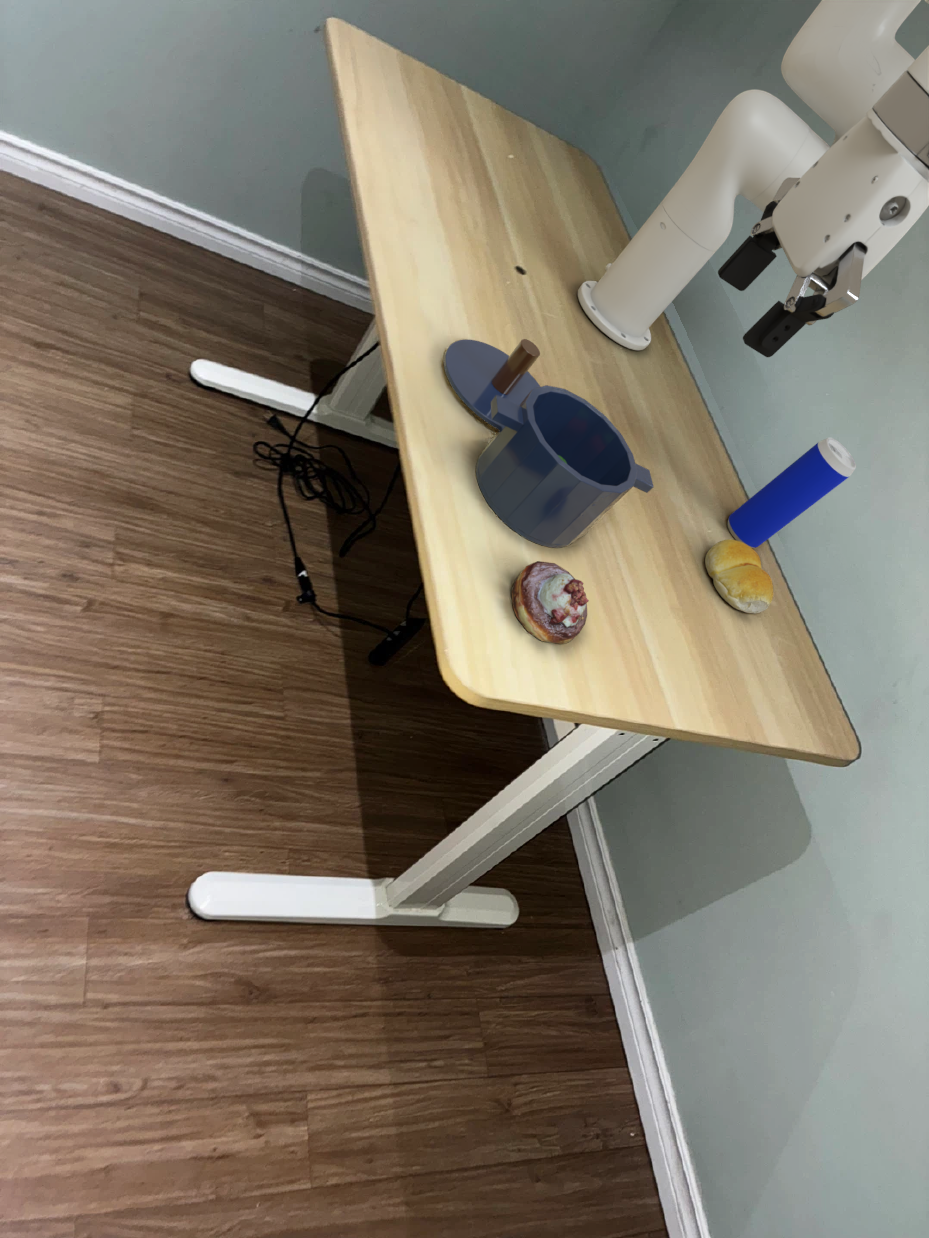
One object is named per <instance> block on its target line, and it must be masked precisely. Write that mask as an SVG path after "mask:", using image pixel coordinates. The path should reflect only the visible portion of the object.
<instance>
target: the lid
mask: <svg viewBox="0 0 929 1238" xmlns="http://www.w3.org/2000/svg"><path fill="white" fill-rule="evenodd" d="M540 356H541V351H540V348H539V347H538V346H537V345H536V344H535V343H534V342H533V341H531V340H530V339H526V338H523V339H521V340H520V341H519V343H518V344H517V345H516V346H515V348H514V349H513V350H512V352H511V353H510V355H509V354H508V353H506V352H504V351H502V350H501V349H499V348H498V347H495V346H493V345H491V344H488V343H486V342H483V341H481V340H476V339H467V338H466V339H458V340H456V341H454V342H452V343H451V344H450V345H449V346H448V347H447V349H446V350H445V352H444V355H443V369H444V373H445V375H446V378H447V380H448V382H449V384H450V386H451V388H452V390H453V391H454V392H455V394H456V395H457V396H458V397H459V399H460V400H461V401H462V402H463V404H464V405H466V407H467V408H469V409H470V411H472V413H474V414H475V415H476V416H477V417H478V418H480V419H481V420H482V421H483V422H485V423H487V424H488V425H489V426H491V427H493V428H494V429H497V430H498V431H499V430H500V428H501V427H502V426H503V425H502V424H500V423H498V422H496V421H494V420H492V414H491V401H492V400H493V398H494V397H495V396H496V395H498V396H500V397H502V398H504V399H506V400H508V401H510V402H513V403H515V404H517V405H520V404H521V402H522V401H523V400H524V399H525V398H526V396H527V395H528V394H529V393H530V391H531V390H532V389H535V388H538V387H541V385H540V383H539V382H538V381H537V380H536V378H535V377H534V376H533V375H532V374H531V373H530V372H529V370H530V369H531V367H532V366H533V364H534V363H535V362H536V361H537V360H538V358H540Z"/></svg>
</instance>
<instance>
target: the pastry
mask: <svg viewBox="0 0 929 1238" xmlns="http://www.w3.org/2000/svg"><path fill="white" fill-rule="evenodd" d="M512 585H513V586H512V589H511V600H512V608H513V612H514V614H515V616H516V618H517V620H518V621H519V622H520V624H521V625H522V626H523V627H524V629H525V631H526V632H527V633H528V634H530V635H532V636H533V637H535V638H537V639H538V640H539V641H540V642H545V643H553V644H560V645H564V644H568V643H570V642H571V641H572V640H573V639H574V638H576V637H577V636H578V635H579V634H580V633H581V631H582V630H583V629H584V627H585V625H586V622H587V618H588V603H589V601H590V600H589V599H588V598H587V594H586V592H585V588H584V582H583V581H582V580H580V579H576V578H575V577H574V576H573V575H572V574H571V573H570V572H569V571H568V570H566V569H565V568H563V567H561V566H560V565H559V564H556V563H555V562H548V561H540V560H538V561H535V562H533V563H530V564H528V565H526V566H525V567H524V569H523V570H522V571H521V572H520V573H519V574H518V575H517V576H516V578H515V580H514V582H513V584H512Z"/></svg>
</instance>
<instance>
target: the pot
mask: <svg viewBox="0 0 929 1238" xmlns="http://www.w3.org/2000/svg"><path fill="white" fill-rule="evenodd" d="M491 414H492V420H494V421H496V422H498V423H500V424H502V425H503V426H502V427H501V428H500V430H498V431H497V432H496V433H495V434H494V436H493V437H492V438H491V439H490V441H489V442H488V443H487V444H486V446H485V447H484V448H483V450H482V452H481V453H480V454H479V456H478V458H477V460H476V465H475V476H476V480H477V484H478V488H479V489H480V492H481V494H482V496H483V497H484V500H485V501H486V503H487V504H488V506H489V507H490V509H491V510H492V511H493V512H494V514H496V516H497V517H498V518H499V519H500V520H501V521H502V522H503V523H504V524H505V525H506V526H507V527H509V528H510V529H511V530H512V531H514V532H515V533H516V534H518V535H519V536H521V537H523V538H524V539H526V540H528V541H530V542H532V543H535V544H537V545H540V546H542V547H547V548H553V549H558V548H559V549H560V548H565V547H569V546H570V545H572V544H574V543H575V542H576V541H577V540H578V539H580V538H582V536H584V535H585V534H586V533H587V531H589V530H590V529H591V528H592V527H593V526H594V525H595V524H596V523H597V522H598V521H599V520H600V519H601V518H603V516H605V514H606V513H607V512H608V511H609V510H611V509H612V508H613V507H614V506H615V505H616V504H617V503H618V502H619V501H620V500H621V499H622V498H623V497H624V496H625V495H626V494H627V493H628V492H630V491H631V489H632V488H635V489H637V490H640V491H642V492H644V493H646V494H648V493H649V492H650V491H651V490H652V489H653V488H654V482H653V478H652V474H651V471H650V469H648V468H646V467H644V466H643V465H641V464H638V463H636V459H635V457H634V454H633V451H632V450H631V448H630V447H629V445H628V443H627V441H626V439H625V438H624V436H623V434H622V433H621V432H620V431H619V430H618V428H617V427H616V426H615V425H614V424H613V423H612V422H611V420H610V419H609V418H608V417H607V416H606V415H605V414H604V413H603V412H601V411H600V410H599V409H598V408H596V407H595V406H594V405H593V404H592V403H590V402H589V401H588V400H586V399H585V398H583V397H581V396H579V395H577V394H575V393H573V392H571V391H570V390H567V389H566V388H562V387H558V386H552V385H542V386H540V387H538V388H535V389H532V390H531V391H530V393H529V394H528V395H527V396H526V398H525V399H524V400H523V401H522V402H521V404H520V405H517V404H515V403H513V402H510V401H508V400H506V399H504V398H502V397H500V396H498V395H496V396H495V397H494V398H493V400H492V401H491ZM558 455H559V456H561V457H562V458H563V459H564V460H565V461H566V462H567V464H566V463H565V462H564V461H563V460H561V459H560V457H559V456H558Z"/></svg>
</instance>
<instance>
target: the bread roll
mask: <svg viewBox="0 0 929 1238" xmlns="http://www.w3.org/2000/svg"><path fill="white" fill-rule="evenodd" d="M704 564H705V568H706V571H707V573H708V575H709V576H708V577H710V578H711V579H712V580H713V585H714V588H715V590H716V591H717V593H718V594H719V595H720V597H721V598H722V599H723V600H724V601H725V602H726V603H728V604H729V605H730V606H731V607H733V608H734V609H736V610H738V611H741V612H744V613H747V614H759V613H762V612H765V611H766V610H767V609H769V606H770V605H771V603H772V601H773V598H774V584H773V581H772V580H773V579H772V578H771V576H770V575H769V574H768V572H767V571H765V570H764V569H762V562H761V558H760V555H759V554H758V553H757V552H756V551H755V549H754V548H751V547H750V546H748V545H746V544H745V543H743V542H740V541H737V540H736V539H733V538H732V539H729V538H728V539H722V540H720V541H718V542H717V543H715V544H713V545H712V547H711V548H710V549H709V550H708V551H707V553H706V554H705V559H704Z"/></svg>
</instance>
